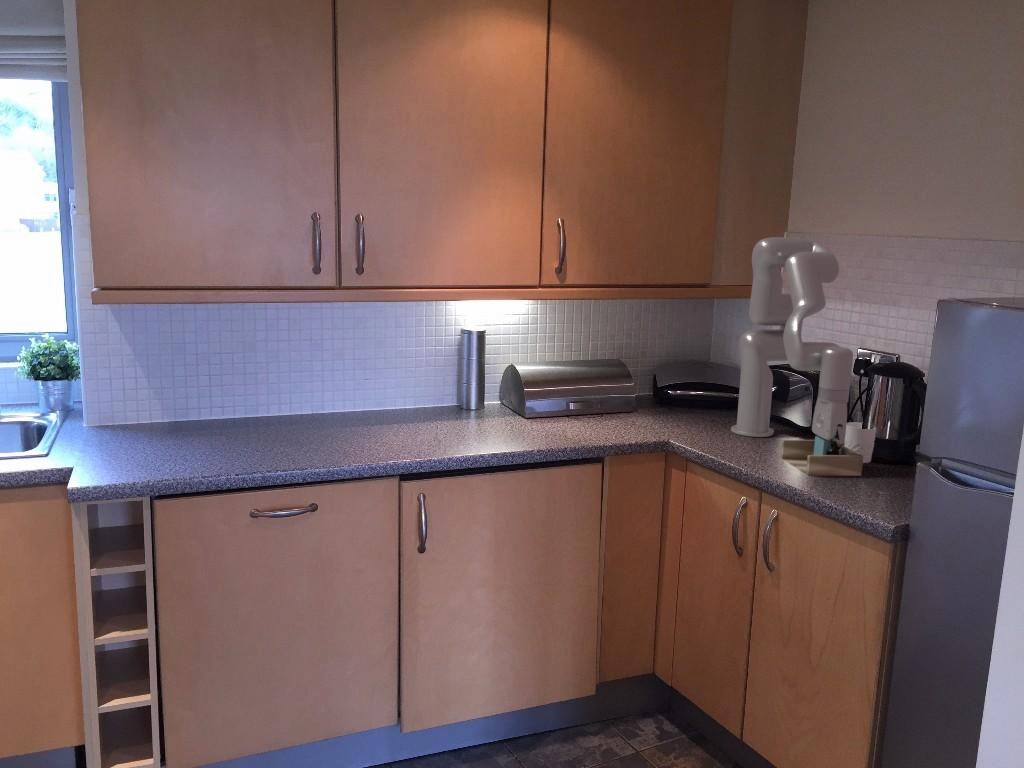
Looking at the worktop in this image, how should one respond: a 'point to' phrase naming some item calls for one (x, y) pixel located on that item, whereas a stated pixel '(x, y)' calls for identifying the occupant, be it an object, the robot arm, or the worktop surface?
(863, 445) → the white cup
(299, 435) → the worktop surface
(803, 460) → the birch box
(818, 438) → the teal block
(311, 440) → the worktop surface
